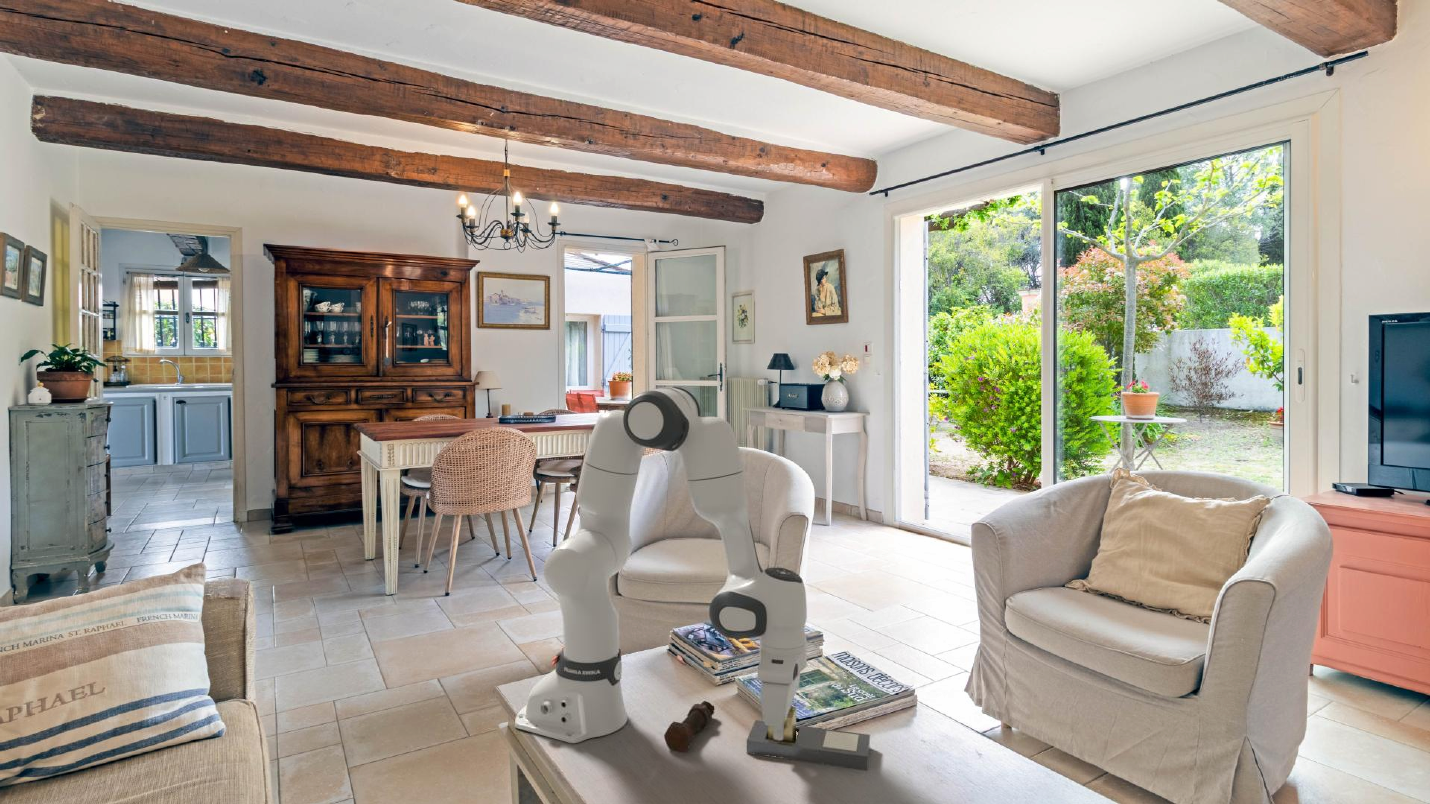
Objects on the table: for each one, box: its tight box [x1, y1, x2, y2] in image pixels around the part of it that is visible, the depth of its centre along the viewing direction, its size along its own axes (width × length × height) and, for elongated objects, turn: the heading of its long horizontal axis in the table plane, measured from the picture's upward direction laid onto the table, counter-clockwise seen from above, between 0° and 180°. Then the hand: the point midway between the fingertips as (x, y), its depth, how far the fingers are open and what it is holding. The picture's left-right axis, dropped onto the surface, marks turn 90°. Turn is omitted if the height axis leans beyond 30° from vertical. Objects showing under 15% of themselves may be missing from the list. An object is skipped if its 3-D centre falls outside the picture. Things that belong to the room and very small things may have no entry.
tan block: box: [768, 706, 797, 743], centre depth 140 cm, size 4×4×7 cm
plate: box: [746, 719, 871, 771], centre depth 139 cm, size 22×8×3 cm, turn 75°
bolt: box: [663, 700, 715, 754], centre depth 145 cm, size 6×5×15 cm
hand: (782, 727), depth 140 cm, fingers open, 7 cm apart
